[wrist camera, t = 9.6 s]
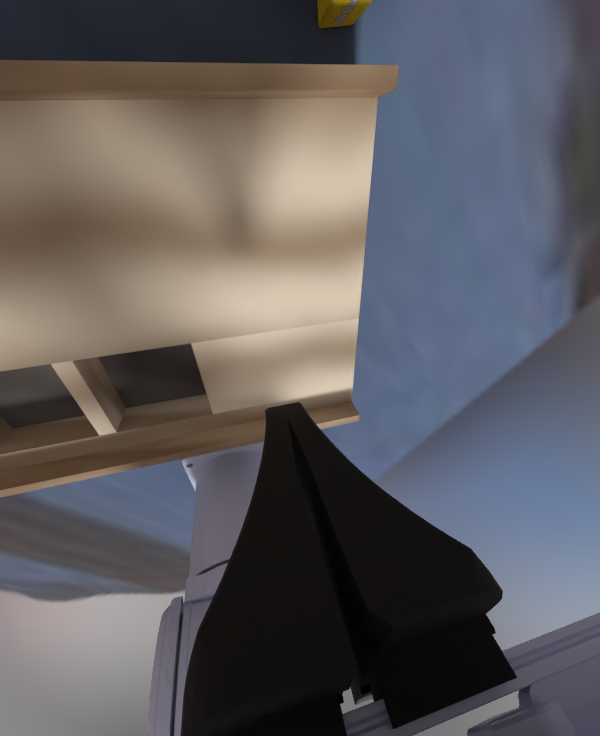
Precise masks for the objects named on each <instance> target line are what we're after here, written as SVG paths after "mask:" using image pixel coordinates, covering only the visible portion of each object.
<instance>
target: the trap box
mask: <svg viewBox="0 0 600 736" xmlns="http://www.w3.org/2000/svg"><path fill="white" fill-rule="evenodd" d="M398 71H399V65H341V64H268V63H196V62H123V61H51V60H0V497H5V496H9V495H14V494H19V493H23V492H28V491H33V490H37V489H42V488H47V487H52V486H56V485H61V484H66V483H70V482H75V481H80V480H84V479H89V478H94V477H99V476H103V475H108V474H113V473H117V472H122V471H127V470H131V469H136V468H141V467H145V466H150V465H155V464H160V463H164V462H169V461H174V460H178V459H183V458H188V457H192V456H197V455H202V454H207V453H211V452H216V451H221V450H225V449H230V448H235V447H239V446H244V445H249V444H253V443H258V442H263V441H264V439H265V429H266V415H265V410H266V409H267V408H271V407H276V406H281V405H286V404H291V403H296V402H299V403H301V404H302V405H303V407H304V409H305V410H306V411H307V413H308V414H309V416H310V417H311V418H312V420H313V421H314V422H315V423H316V425H317V426H318V427H319V428H320V429H324V428H329V427H333V426H338V425H343V424H347V423H352V422H357V421H359V414H358V412H357V410H356V409H355V407H354V405H353V403H352V402H351V401H352V389H353V378H354V366H355V355H356V344H357V332H358V321H359V309H360V298H361V286H362V275H363V263H364V252H365V240H366V229H367V217H368V206H369V194H370V183H371V172H372V160H373V149H374V137H375V126H376V114H377V103H378V98H379V97H381V96H383V95H385V94H387V93H389V92H391V91H393V90H395V89H397V80H398Z"/></svg>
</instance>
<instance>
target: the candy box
mask: <svg viewBox="0 0 600 736" xmlns="http://www.w3.org/2000/svg"><path fill="white" fill-rule="evenodd" d="M372 1H373V0H317V5H318V26H319V28H328V27H338V26H347V25H352V24H354V23H355V22H356V20H357V19H358V18H359V17H360V15H361V14H362V13H363V12H364V10H365V9H366V8H367V7H368V6H369V4H370V3H371V2H372Z"/></svg>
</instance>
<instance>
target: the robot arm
mask: <svg viewBox="0 0 600 736" xmlns="http://www.w3.org/2000/svg"><path fill="white" fill-rule="evenodd" d="M265 415H266V429H265V439H264V441H263V442H258V443H253V444H249V445H244V446H239V447H235V448H230V449H225V450H221V451H216V452H211V453H207V454H202V455H197V456H192V457H188V458H183V459H182V464H183V466H184V468H185V470H186V473H187V475H188V477H189V479H190V481H191V483H192V485H193V487H194V490H195V505H194V518H193V531H192V544H191V557H190V571H189V578H187V579H186V590H185V602H184V603H183V597H177V598H174V599H173V600H172V602H171V605H170V606H169V607H168V608H167V609H166V610H165V611H164V613H163V615H162V618H161V622H160V627H159V632H158V638H157V644H156V651H155V658H154V665H153V673H152V682H151V690H150V700H149V712H148V723H147V736H412V735H414V734H417V733H419V732H422V731H424V730H426V729H429V728H431V727H433V726H436V725H438V724H440V723H443V722H445V721H447V720H450V719H452V718H454V717H457V716H459V715H461V714H464V713H466V712H468V711H471V710H473V709H476V708H478V707H480V706H483V705H485V704H487V703H490V702H492V701H494V700H496V699H499V698H501V697H503V696H506V695H508V694H510V693H513V692H515V691H518V690H519V694H518V698H519V708H516V709H513V710H510V711H507V712H504V713H501V714H499V715H496V716H494V717H492V718H489V719H487V720H485V721H483V722H481V723H479V724H478V725H475V726H473V727H472V728H470V729H468V732H467V735H468V736H600V613H598V614H595V615H593V616H590V617H588V618H585V619H583V620H580V621H577V622H575V623H572V624H570V625H567V626H565V627H563V628H560V629H557V630H555V631H552V632H550V633H547V634H545V635H542V636H540V637H537V638H535V639H532V640H529V641H527V642H524V643H522V644H519V645H517V646H514V647H512V648H509V649H507V650H504V651H502V650H501V649H500V647H499V645H498V644H497V642H496V640H495V639H494V637H493V635H492V634H494V633H495V629H494V627H493V625H492V624H491V622H490V620H489V619H488V617H487V616H486V613H487V612H488V611H490V609H492V608H493V607H494V606H495V605H496V604H497V603H499V601H500V600H501V599H502V592H503V591H502V590H501V588H500V587H499V585H498V583H497V582H496V581H495V579H494V577H493V576H492V575H491V573H490V572H489V570H488V569H487V568H486V567H485V566H484V564H483V563H482V562H481V560H480V559H479V558H478V557H477V556H476V554H475V553H474V552H473V551H472V549H470V548H469V547H467V546H465V545H464V544H462V543H461V542H459V541H457V540H456V539H454V538H452V537H450V536H449V535H447V534H446V533H444V532H443V531H441V530H439V529H438V528H436V527H435V526H433V525H431V524H430V523H429V522H427V521H426V520H424V519H423V518H421V517H420V516H418V515H416V514H415V513H414V512H412V511H411V510H409V509H408V508H407V507H405V506H404V505H403V504H401V503H400V502H399V501H397V500H396V499H395V498H393V497H392V496H390V495H389V494H387V493H386V492H385V491H384V490H382V489H381V488H380V487H379V486H378V485H376V484H375V483H374V482H373V481H372V480H370V479H369V478H368V477H367V476H366V475H365V474H363V473H362V472H361V471H360V470H359V469H358V468H357V467H356V466H355V465H353V464H352V463H351V462H350V461H349V460H348V459H347V458H346V457H345V456H344V455H343V454H342V453H341V452H340V451H339V450H338V449H337V448H336V447H335V445H334V444H333V443H332V442H331V441H330V440H329V439H328V438H327V437H326V435H325V434H324V433H323V432H322V431H321V430H320V428H319V427H318V426H317V425H316V423H315V422H314V421H313V420H312V418H311V417H310V416H309V414H308V413H307V411H306V410H305V409H304V407H303V405H302V404H301V403H299V402H296V403H291V404H286V405H281V406H276V407H271V408H267V409H266V410H265ZM350 687H351V690H352V694H353V698H354V702H355V705H356V704H359V703H361V702H364V701H367V700H369V699H372V698H373V699H374V702H373V703H370V704H368V705H365V706H363V707H360V708H358V709H355V710H352V711H350V712H348V713H345V714H342V711H341V706H340V704H341V703H343V702H344V701H343V696H342V693H343V691H345V690H348V689H349V688H350Z"/></svg>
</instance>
